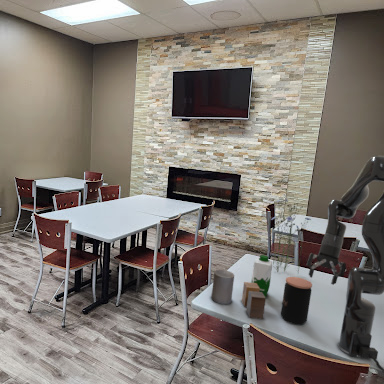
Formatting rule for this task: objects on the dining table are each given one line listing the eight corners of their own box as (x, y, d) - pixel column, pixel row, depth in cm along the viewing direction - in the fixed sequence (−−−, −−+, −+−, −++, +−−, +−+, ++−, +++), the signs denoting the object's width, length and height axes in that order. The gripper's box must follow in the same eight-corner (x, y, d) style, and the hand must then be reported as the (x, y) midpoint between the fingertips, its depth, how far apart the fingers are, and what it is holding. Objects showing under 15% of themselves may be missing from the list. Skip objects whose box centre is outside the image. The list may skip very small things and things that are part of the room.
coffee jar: (284, 310, 159) (289, 274, 156) (309, 319, 153) (314, 281, 150) (277, 319, 151) (282, 281, 148) (303, 328, 144) (309, 289, 141)
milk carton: (269, 293, 177) (273, 256, 174) (267, 299, 169) (272, 262, 166) (251, 288, 181) (256, 253, 178) (249, 295, 173) (253, 258, 170)
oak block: (257, 308, 160) (259, 288, 159) (244, 306, 161) (246, 287, 159) (254, 302, 166) (256, 283, 164) (241, 300, 167) (243, 281, 165)
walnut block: (263, 319, 150) (265, 298, 149) (249, 317, 151) (251, 296, 149) (259, 312, 156) (262, 292, 155) (246, 310, 157) (248, 290, 155)
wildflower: (307, 280, 198) (318, 205, 191) (266, 274, 202) (276, 201, 195) (296, 266, 220) (306, 199, 213) (259, 262, 224) (268, 195, 217)
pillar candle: (207, 295, 170) (210, 267, 167) (224, 294, 173) (227, 266, 170) (218, 305, 161) (221, 275, 158) (235, 303, 164) (239, 274, 161)
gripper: (314, 240, 146) (304, 276, 146) (352, 250, 141) (341, 288, 141) (312, 240, 153) (302, 274, 153) (348, 249, 148) (338, 285, 148)
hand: (321, 280), depth 147 cm, fingers open, 8 cm apart
